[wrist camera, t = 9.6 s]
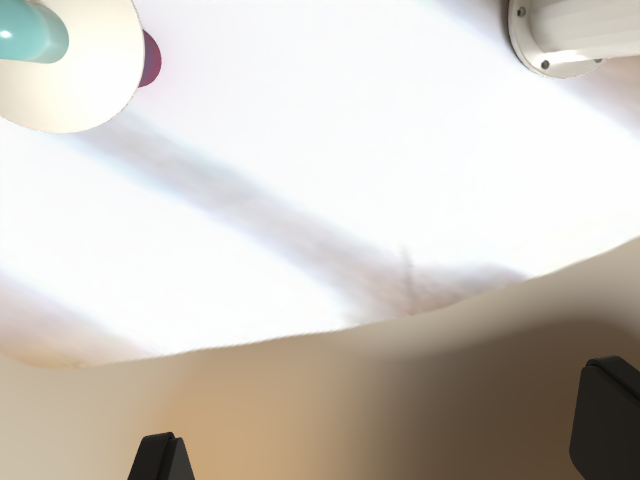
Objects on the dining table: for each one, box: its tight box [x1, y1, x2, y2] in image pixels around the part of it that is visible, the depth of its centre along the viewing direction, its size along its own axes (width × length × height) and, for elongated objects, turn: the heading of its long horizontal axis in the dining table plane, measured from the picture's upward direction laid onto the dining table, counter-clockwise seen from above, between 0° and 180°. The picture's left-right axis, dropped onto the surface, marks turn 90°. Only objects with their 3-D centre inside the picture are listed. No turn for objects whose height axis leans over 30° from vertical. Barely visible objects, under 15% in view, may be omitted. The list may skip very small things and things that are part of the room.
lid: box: [0, 0, 145, 133], centre depth 19 cm, size 10×10×6 cm
